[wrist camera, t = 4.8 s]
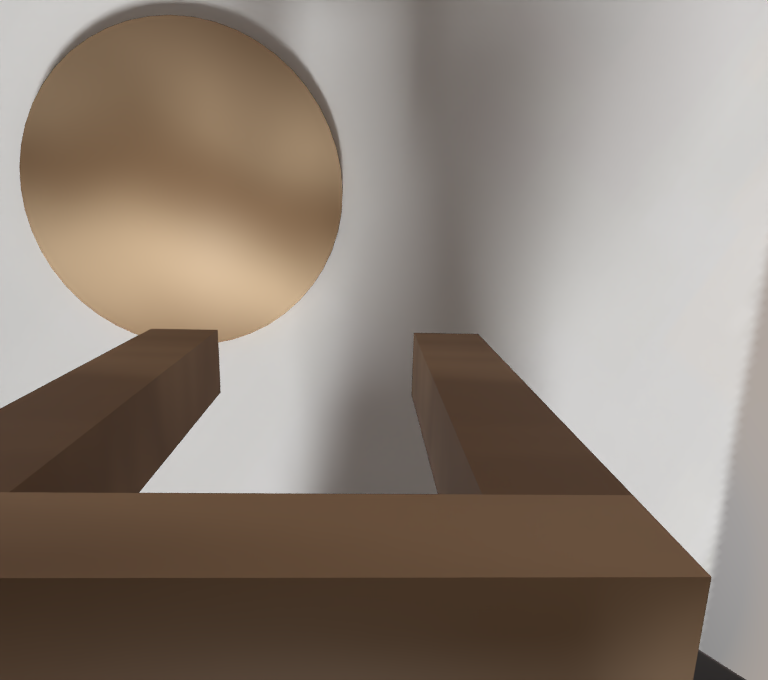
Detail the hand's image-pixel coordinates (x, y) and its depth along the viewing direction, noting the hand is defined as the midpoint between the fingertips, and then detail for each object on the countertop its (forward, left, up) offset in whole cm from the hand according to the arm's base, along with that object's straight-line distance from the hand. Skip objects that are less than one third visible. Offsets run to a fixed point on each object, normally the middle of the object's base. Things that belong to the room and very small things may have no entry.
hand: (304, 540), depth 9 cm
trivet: (+6, +5, -12) cm, 15 cm away
